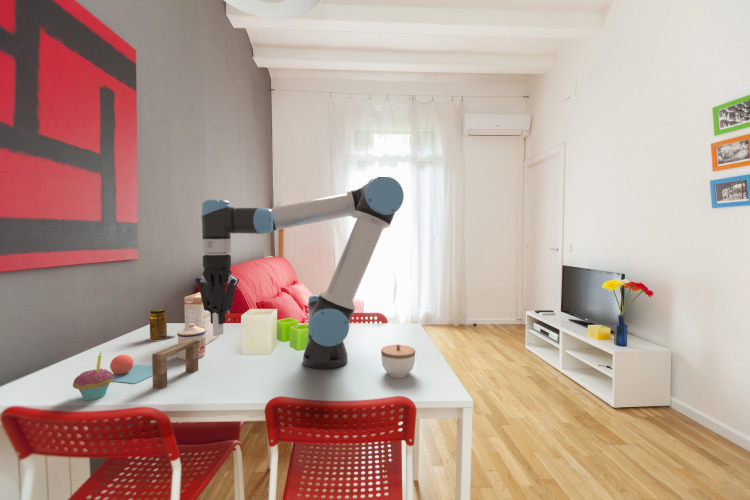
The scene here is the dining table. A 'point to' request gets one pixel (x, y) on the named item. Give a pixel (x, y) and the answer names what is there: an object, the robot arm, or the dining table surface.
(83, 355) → the dining table surface
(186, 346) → the bridge
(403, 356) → the lidded jar
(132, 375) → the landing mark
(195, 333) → the teacup with lid
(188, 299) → the coffeecake box
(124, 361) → the ball
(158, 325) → the condiment
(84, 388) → the cupcake
